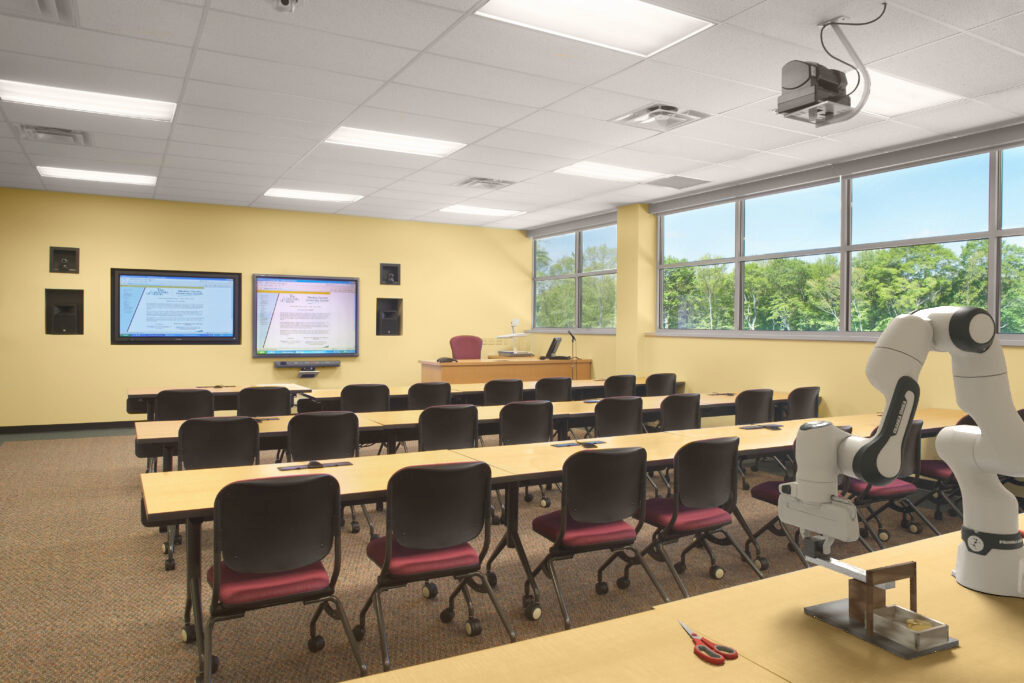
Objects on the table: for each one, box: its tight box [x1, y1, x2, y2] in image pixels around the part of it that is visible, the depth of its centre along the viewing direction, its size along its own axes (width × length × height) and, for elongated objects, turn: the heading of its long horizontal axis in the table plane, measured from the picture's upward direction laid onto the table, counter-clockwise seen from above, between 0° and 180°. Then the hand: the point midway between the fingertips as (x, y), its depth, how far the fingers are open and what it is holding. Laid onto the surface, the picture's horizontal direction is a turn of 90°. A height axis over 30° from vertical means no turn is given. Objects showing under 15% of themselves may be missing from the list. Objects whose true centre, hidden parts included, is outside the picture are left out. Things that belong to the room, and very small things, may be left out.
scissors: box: [677, 619, 739, 666], centre depth 134 cm, size 8×21×2 cm, turn 22°
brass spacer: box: [907, 619, 933, 632], centre depth 130 cm, size 4×4×3 cm
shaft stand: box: [803, 560, 960, 661], centre depth 139 cm, size 24×15×14 cm, turn 23°
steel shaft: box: [803, 534, 896, 591], centre depth 146 cm, size 20×5×6 cm, turn 23°
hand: (817, 550), depth 153 cm, fingers closed on steel shaft, 3 cm apart
